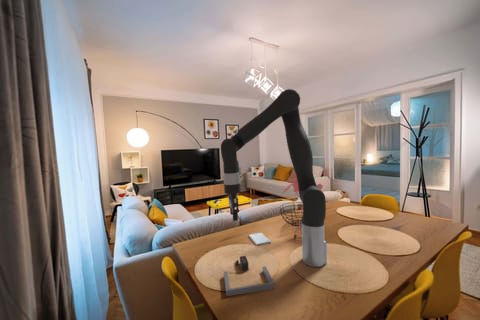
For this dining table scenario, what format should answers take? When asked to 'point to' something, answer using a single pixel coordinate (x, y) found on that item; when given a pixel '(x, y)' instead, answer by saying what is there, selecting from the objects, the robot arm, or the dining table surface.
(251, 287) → the slot rails
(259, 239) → the hard drive
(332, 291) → the dining table surface
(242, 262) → the wireless earbuds
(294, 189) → the figurine
